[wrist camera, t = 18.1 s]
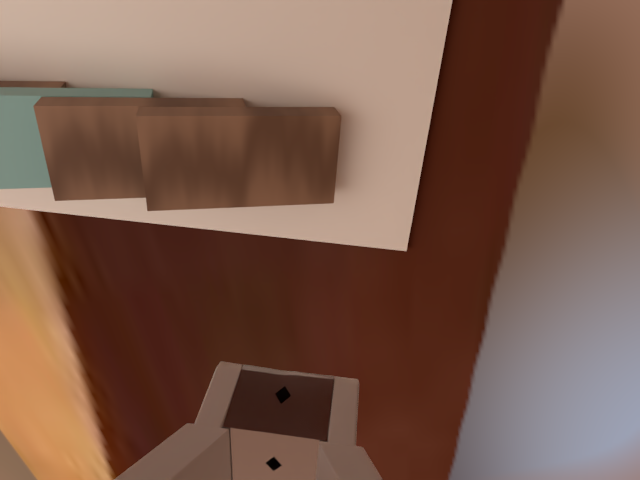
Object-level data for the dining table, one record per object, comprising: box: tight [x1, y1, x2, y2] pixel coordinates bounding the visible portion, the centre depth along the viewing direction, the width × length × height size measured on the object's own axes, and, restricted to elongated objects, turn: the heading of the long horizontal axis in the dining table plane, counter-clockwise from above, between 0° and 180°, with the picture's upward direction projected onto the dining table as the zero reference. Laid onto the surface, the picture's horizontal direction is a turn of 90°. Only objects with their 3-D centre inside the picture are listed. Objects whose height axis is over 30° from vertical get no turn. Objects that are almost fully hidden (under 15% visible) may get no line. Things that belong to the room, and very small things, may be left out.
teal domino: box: [0, 87, 154, 189], centre depth 27 cm, size 5×2×10 cm
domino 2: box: [136, 106, 342, 211], centre depth 26 cm, size 5×2×10 cm
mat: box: [0, 0, 452, 251], centre depth 26 cm, size 24×30×1 cm
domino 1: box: [33, 97, 246, 201], centre depth 27 cm, size 5×2×10 cm
